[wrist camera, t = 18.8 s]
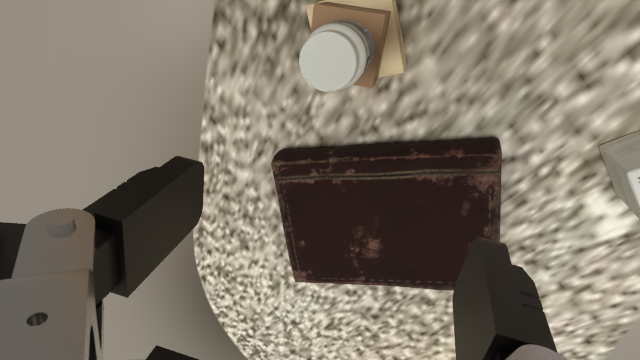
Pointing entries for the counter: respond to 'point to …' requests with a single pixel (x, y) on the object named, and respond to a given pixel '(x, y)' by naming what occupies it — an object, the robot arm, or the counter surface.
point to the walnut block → (367, 17)
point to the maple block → (393, 46)
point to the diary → (388, 210)
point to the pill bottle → (336, 55)
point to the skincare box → (624, 168)
